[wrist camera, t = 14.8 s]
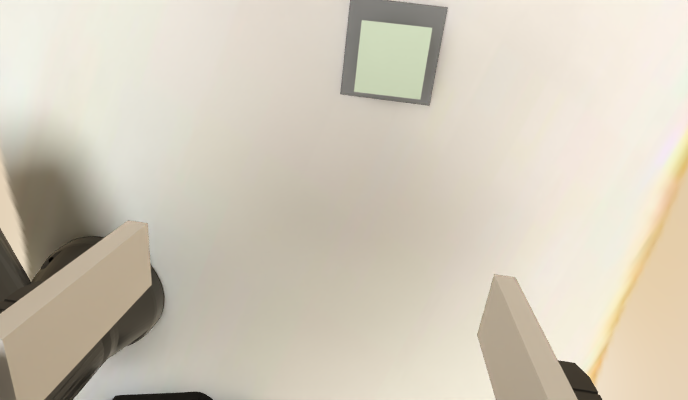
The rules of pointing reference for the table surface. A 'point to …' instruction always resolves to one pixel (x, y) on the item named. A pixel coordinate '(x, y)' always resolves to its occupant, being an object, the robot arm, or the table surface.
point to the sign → (165, 396)
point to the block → (392, 59)
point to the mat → (375, 6)
